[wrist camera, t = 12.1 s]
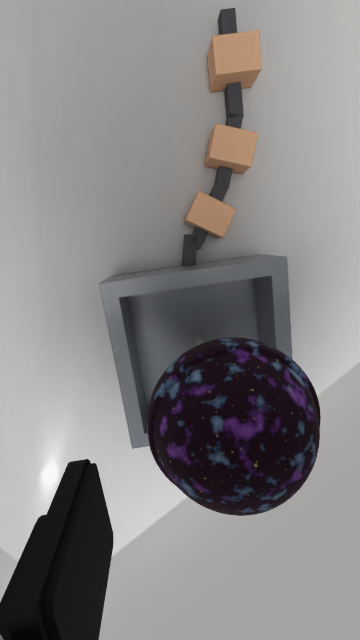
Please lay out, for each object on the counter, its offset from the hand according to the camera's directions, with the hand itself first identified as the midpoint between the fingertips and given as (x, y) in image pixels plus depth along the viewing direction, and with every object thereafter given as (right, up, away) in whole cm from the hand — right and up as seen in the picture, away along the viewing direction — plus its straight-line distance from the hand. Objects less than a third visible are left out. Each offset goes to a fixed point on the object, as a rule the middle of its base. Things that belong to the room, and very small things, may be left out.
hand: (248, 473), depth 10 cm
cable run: (0, +17, +12) cm, 21 cm away
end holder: (-1, +3, +15) cm, 16 cm away
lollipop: (-1, +3, +14) cm, 15 cm away
